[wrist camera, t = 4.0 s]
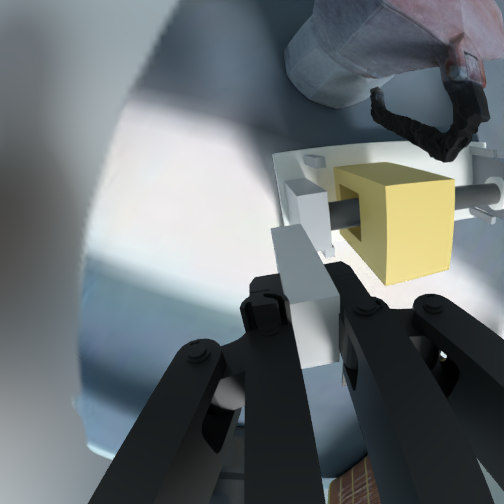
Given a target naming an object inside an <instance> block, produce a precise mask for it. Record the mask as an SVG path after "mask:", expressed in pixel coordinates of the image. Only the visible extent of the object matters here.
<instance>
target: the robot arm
mask: <svg viewBox="0 0 504 504" xmlns="http://www.w3.org/2000/svg"><path fill="white" fill-rule="evenodd" d="M271 233H272V239H273V245H274V251H275V257H276V264H277V270H278V274H272V275H266V276H260V277H255V278H254V279H253V281H252V282H251V283H250V296H249V297H248V298H246V299H245V300H244V301H243V302H242V303H241V306H240V312H241V315H242V319H243V323H244V327H245V331H246V333H245V334H244V335H243V336H242V337H241V338H239V339H238V340H236V341H234V342H231V343H229V344H226V345H223V346H220V345H219V344H218V343H217V342H215V341H214V340H210V339H197V340H194V341H191V342H189V343H187V344H186V345H184V346H182V347H181V349H180V350H179V351H178V352H177V354H176V355H175V357H174V358H173V360H172V362H171V363H170V365H169V367H168V368H167V370H166V372H165V373H164V375H163V377H162V378H161V380H160V382H159V383H158V385H157V387H156V388H155V390H154V392H153V393H152V395H151V397H150V398H149V400H148V402H147V403H146V405H145V407H144V408H143V410H142V412H141V413H140V415H139V417H138V418H137V420H136V422H135V423H134V425H133V427H132V429H131V430H130V432H129V434H128V435H127V437H126V439H125V440H124V442H123V444H122V445H121V447H120V449H119V451H118V452H117V454H116V456H115V457H114V459H113V461H112V463H111V464H110V466H109V468H108V469H107V471H106V473H105V475H104V476H103V478H102V480H101V482H100V483H99V485H98V487H97V488H96V490H95V492H94V494H93V495H92V497H91V499H90V501H89V503H88V504H325V497H324V490H323V484H322V478H321V472H320V466H319V460H318V454H317V449H316V443H315V437H314V432H313V426H312V421H311V415H310V410H309V405H308V399H307V394H306V389H305V384H304V379H303V374H302V369H304V368H309V367H315V366H320V365H325V364H329V363H334V362H338V361H339V358H340V353H341V356H342V359H343V373H342V387H343V386H345V385H346V383H347V386H348V389H349V392H350V395H351V398H352V402H353V405H354V408H355V411H356V414H357V418H358V421H359V424H360V428H361V431H362V434H363V438H364V441H365V445H366V448H367V452H368V455H369V459H370V462H371V466H372V470H373V474H374V477H375V481H376V485H377V489H378V493H379V497H380V501H381V504H494V501H493V498H492V496H491V493H490V490H489V488H488V485H487V483H486V480H485V477H484V475H483V473H482V470H481V468H480V465H479V463H478V461H477V459H478V460H479V461H480V463H481V464H482V465H483V466H484V467H485V469H486V470H487V471H488V472H489V473H490V475H491V476H492V477H493V478H494V480H495V481H496V482H497V483H498V484H499V486H500V487H501V488H502V489H503V491H504V339H502V338H501V337H500V336H498V335H497V334H496V333H494V332H493V331H492V330H490V329H489V328H488V327H486V326H485V325H484V324H482V323H481V322H480V321H478V320H477V319H476V318H474V317H473V316H471V315H470V314H469V313H467V312H466V311H464V310H463V309H461V308H460V307H459V306H457V305H456V304H454V303H453V302H451V301H450V300H448V299H447V298H445V297H443V296H441V295H437V294H425V295H421V296H419V297H418V298H417V299H415V301H414V303H413V308H412V309H390V308H389V307H388V305H387V304H386V303H385V302H384V301H383V300H381V299H379V298H376V297H371V296H370V294H369V293H368V291H367V290H366V289H365V287H364V286H363V284H362V283H361V281H360V280H359V279H358V277H357V275H356V274H355V273H354V271H353V270H352V268H351V267H350V266H349V265H347V264H345V263H343V262H342V261H339V262H334V263H329V264H323V262H322V261H321V259H320V257H319V255H318V253H317V251H316V250H315V248H314V246H313V244H312V242H311V241H310V239H309V237H308V235H307V234H306V232H305V230H304V228H303V227H302V225H301V224H295V225H289V226H283V227H277V228H271ZM441 351H442V352H444V353H445V354H446V355H447V358H444V357H442V356H441V355H440V353H441ZM243 406H245V428H244V427H236V425H237V422H238V419H239V416H240V413H241V408H242V407H243ZM476 458H477V459H476Z"/></svg>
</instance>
